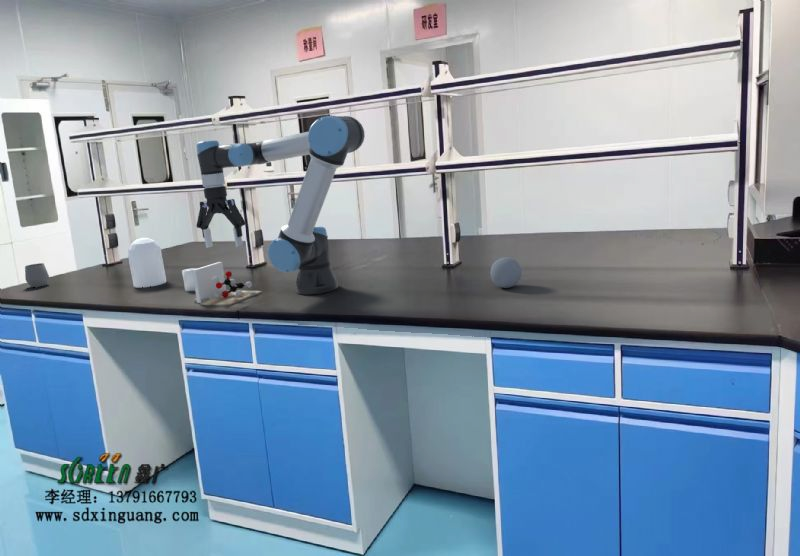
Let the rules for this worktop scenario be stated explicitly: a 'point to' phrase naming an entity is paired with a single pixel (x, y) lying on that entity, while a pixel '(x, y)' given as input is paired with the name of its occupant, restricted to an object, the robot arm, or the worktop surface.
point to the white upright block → (188, 279)
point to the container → (146, 263)
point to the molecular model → (232, 288)
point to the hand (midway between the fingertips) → (224, 246)
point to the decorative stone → (505, 272)
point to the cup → (36, 275)
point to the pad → (230, 298)
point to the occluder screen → (208, 281)
